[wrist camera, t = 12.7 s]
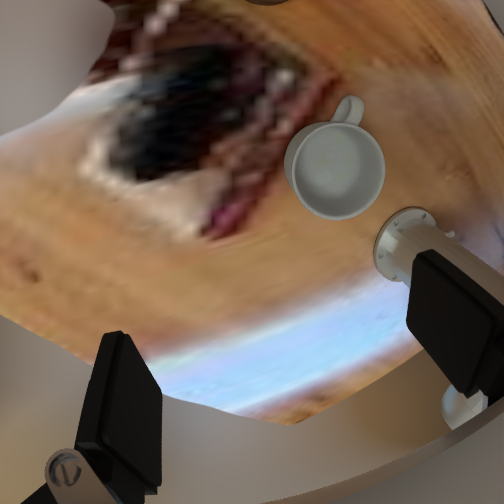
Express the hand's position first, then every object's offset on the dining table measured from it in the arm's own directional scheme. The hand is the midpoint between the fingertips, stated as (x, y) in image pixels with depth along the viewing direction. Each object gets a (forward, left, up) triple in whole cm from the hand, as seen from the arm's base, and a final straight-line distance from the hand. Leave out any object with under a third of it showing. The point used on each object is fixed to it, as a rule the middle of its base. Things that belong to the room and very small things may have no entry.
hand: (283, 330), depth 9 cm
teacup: (-13, +1, -31) cm, 33 cm away
